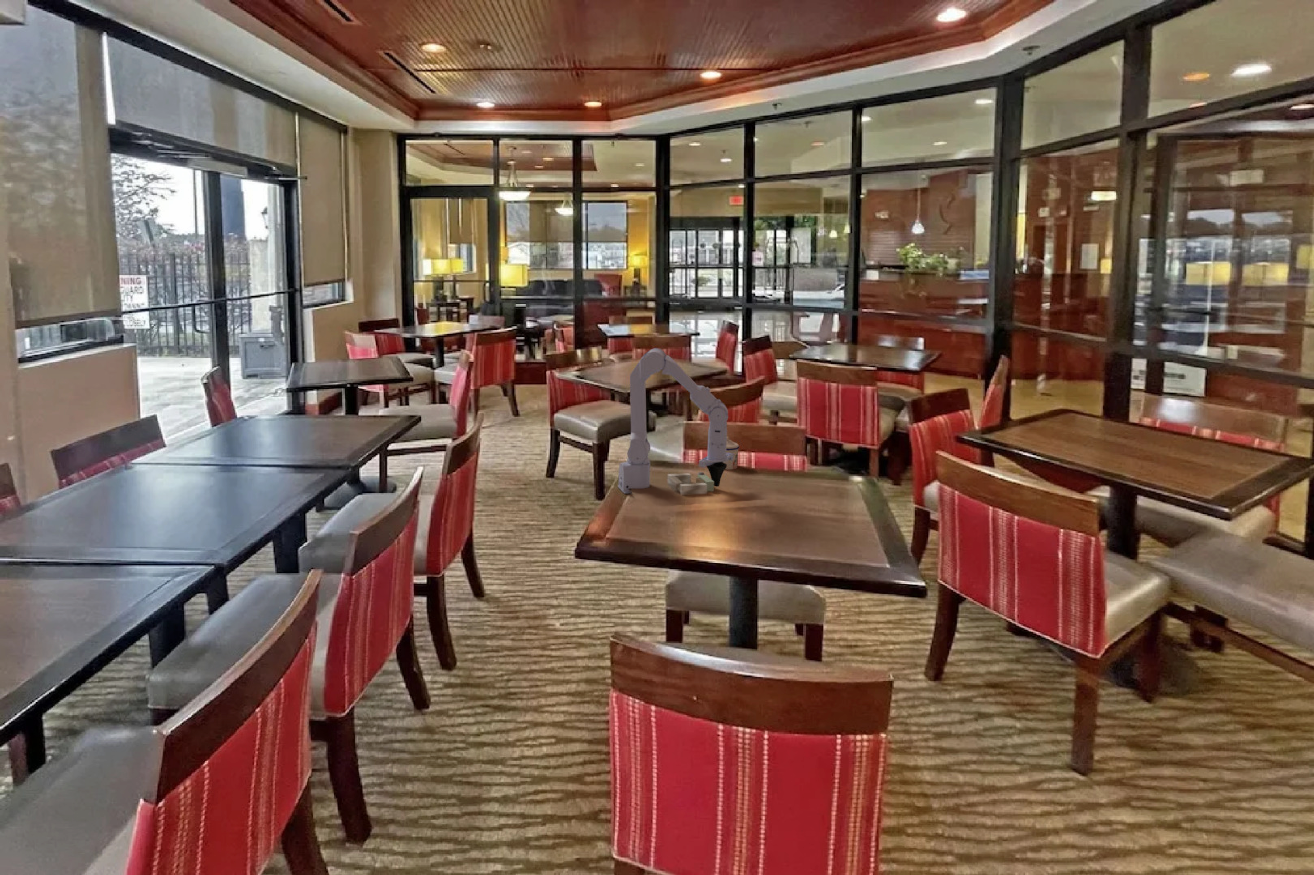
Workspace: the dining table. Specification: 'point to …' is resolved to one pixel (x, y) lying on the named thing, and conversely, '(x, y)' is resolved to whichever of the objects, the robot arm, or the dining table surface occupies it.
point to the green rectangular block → (706, 481)
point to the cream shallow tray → (680, 484)
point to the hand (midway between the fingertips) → (715, 485)
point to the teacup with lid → (733, 449)
